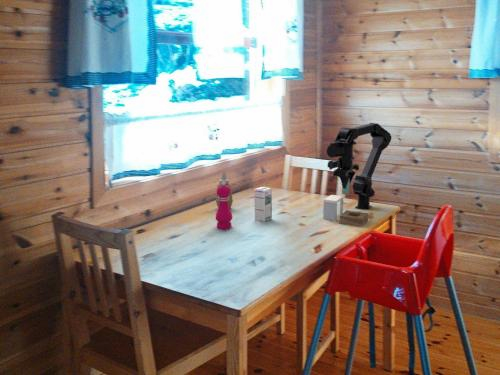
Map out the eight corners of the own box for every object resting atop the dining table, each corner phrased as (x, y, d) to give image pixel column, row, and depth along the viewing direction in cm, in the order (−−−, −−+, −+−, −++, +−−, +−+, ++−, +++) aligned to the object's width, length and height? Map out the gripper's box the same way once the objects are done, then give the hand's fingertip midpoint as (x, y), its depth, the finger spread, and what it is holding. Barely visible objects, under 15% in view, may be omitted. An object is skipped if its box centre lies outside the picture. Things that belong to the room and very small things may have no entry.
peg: (343, 192, 263) (343, 175, 262) (350, 193, 262) (350, 176, 260) (340, 194, 261) (341, 177, 259) (347, 194, 259) (348, 178, 257)
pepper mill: (230, 229, 237) (229, 184, 232) (213, 229, 238) (212, 183, 233) (234, 225, 243) (233, 180, 239) (218, 224, 245) (217, 179, 240)
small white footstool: (330, 213, 261) (331, 194, 259) (342, 214, 259) (343, 196, 256) (323, 218, 253) (323, 199, 250) (335, 220, 250) (336, 201, 248)
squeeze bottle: (213, 207, 271) (213, 171, 267) (228, 206, 275) (228, 170, 270) (219, 211, 264) (219, 174, 260) (235, 209, 267) (235, 173, 263)
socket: (346, 217, 254) (346, 210, 253) (367, 220, 249) (368, 213, 248) (339, 223, 245) (339, 216, 244) (361, 226, 241) (362, 218, 240)
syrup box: (264, 221, 248) (264, 190, 245) (254, 219, 251) (253, 188, 248) (271, 219, 252) (272, 187, 249) (261, 216, 256) (261, 186, 253)
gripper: (337, 150, 269) (336, 181, 272) (322, 156, 253) (321, 190, 257) (359, 152, 263) (358, 184, 267) (345, 159, 247) (344, 193, 251)
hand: (345, 187), depth 261 cm, fingers closed on peg, 3 cm apart
